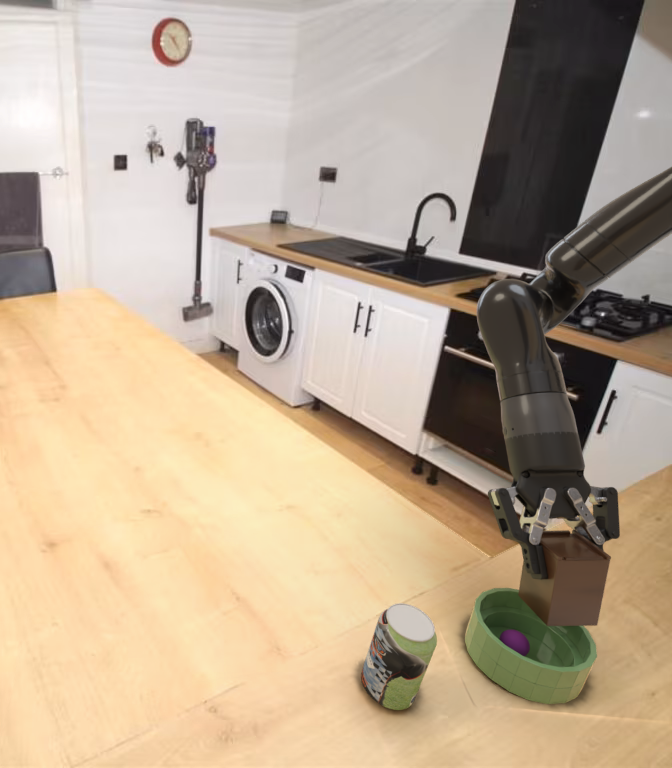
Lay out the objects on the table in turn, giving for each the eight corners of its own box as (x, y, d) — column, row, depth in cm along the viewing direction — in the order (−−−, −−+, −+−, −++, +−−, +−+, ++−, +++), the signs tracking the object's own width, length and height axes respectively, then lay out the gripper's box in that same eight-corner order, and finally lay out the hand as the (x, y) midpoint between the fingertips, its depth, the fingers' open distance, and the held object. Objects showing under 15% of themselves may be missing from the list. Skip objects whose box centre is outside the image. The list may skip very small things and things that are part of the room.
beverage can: (373, 662, 68) (382, 583, 64) (435, 698, 63) (448, 614, 59) (349, 694, 64) (357, 611, 60) (413, 734, 59) (426, 647, 55)
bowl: (534, 620, 73) (546, 586, 71) (606, 706, 62) (625, 669, 60) (445, 622, 73) (455, 588, 71) (502, 710, 62) (516, 673, 59)
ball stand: (517, 595, 67) (527, 530, 65) (564, 594, 67) (575, 530, 65) (547, 626, 62) (558, 557, 60) (597, 626, 62) (611, 556, 59)
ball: (526, 667, 66) (497, 654, 69) (533, 643, 68) (504, 632, 70) (524, 656, 65) (494, 643, 67) (531, 632, 66) (501, 620, 68)
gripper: (496, 430, 63) (522, 582, 59) (623, 427, 63) (660, 581, 58) (465, 440, 71) (486, 576, 66) (579, 438, 70) (608, 576, 65)
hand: (567, 578), depth 62 cm, fingers closed on ball stand, 5 cm apart
